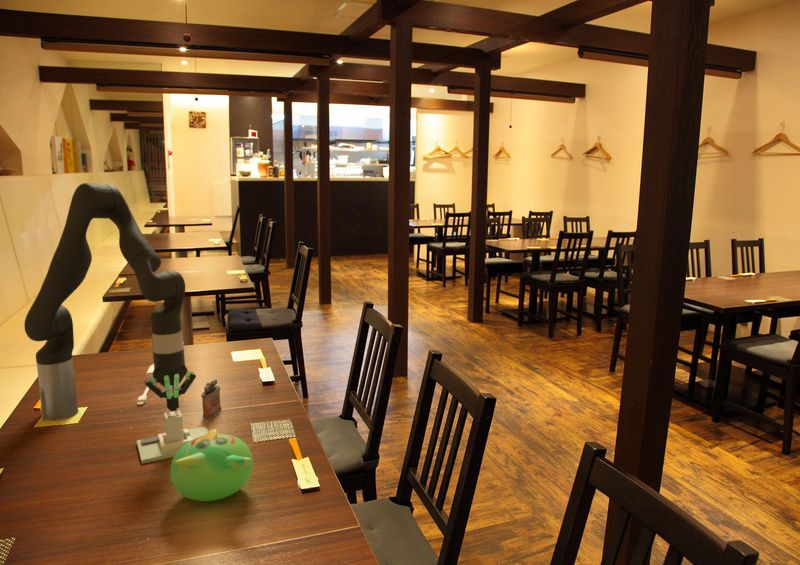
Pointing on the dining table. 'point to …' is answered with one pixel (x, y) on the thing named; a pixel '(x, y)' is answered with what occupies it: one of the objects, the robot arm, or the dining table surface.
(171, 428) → the plug
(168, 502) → the dining table surface
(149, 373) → the charging cable
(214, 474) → the toy bird
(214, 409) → the lighter
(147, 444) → the board
